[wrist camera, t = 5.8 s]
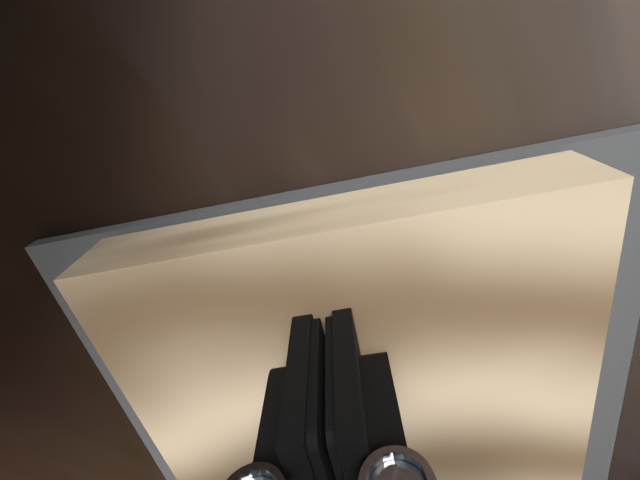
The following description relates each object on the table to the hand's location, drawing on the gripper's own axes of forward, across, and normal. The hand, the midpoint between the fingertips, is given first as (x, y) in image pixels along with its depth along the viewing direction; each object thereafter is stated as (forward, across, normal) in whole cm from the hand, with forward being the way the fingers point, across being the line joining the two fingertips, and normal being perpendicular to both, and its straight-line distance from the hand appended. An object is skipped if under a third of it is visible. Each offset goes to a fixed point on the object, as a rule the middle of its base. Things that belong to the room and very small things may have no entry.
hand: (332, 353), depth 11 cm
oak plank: (+3, 0, +6) cm, 7 cm away
